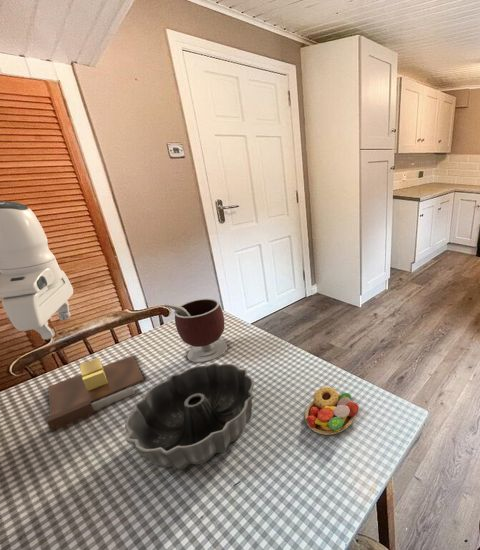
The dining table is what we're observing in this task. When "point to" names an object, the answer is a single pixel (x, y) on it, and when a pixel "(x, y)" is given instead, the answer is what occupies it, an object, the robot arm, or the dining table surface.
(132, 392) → the knife
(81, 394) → the butter board
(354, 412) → the toy food set
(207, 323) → the mate gourd
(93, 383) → the butter pat
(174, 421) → the bundt pan
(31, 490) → the dining table surface
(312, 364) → the dining table surface
